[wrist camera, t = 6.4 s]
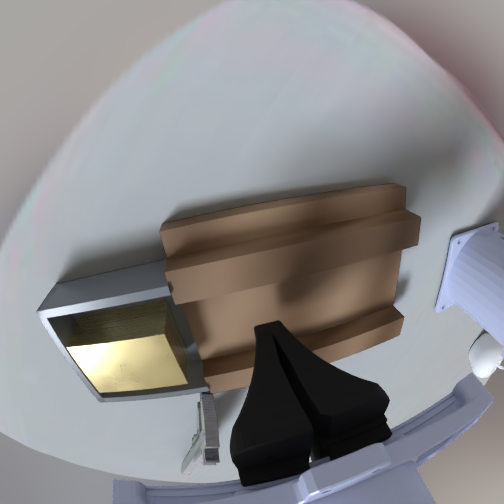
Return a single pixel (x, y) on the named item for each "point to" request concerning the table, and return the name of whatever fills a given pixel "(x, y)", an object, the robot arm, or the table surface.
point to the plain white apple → (485, 355)
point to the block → (130, 348)
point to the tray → (111, 298)
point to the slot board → (293, 293)
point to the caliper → (204, 437)
